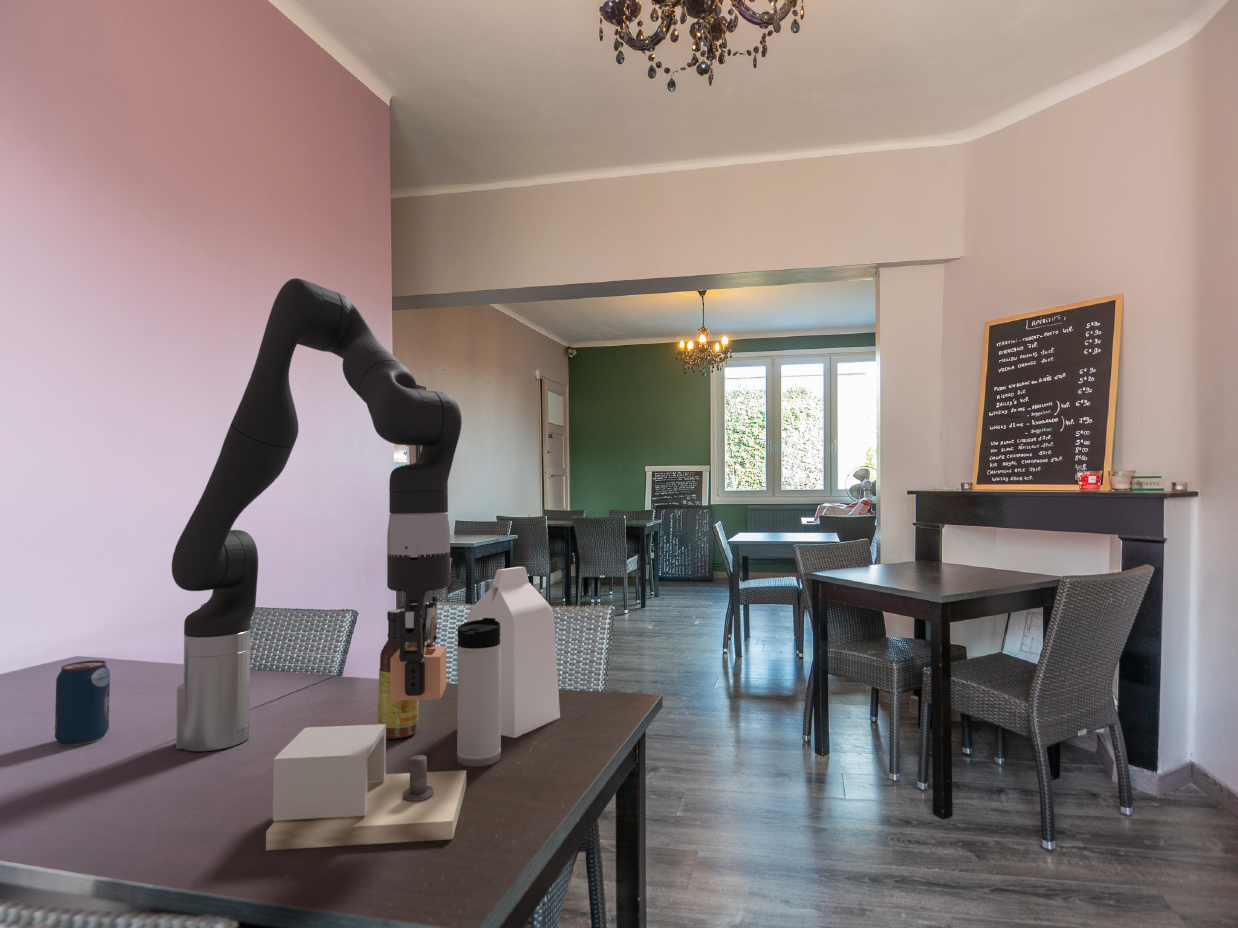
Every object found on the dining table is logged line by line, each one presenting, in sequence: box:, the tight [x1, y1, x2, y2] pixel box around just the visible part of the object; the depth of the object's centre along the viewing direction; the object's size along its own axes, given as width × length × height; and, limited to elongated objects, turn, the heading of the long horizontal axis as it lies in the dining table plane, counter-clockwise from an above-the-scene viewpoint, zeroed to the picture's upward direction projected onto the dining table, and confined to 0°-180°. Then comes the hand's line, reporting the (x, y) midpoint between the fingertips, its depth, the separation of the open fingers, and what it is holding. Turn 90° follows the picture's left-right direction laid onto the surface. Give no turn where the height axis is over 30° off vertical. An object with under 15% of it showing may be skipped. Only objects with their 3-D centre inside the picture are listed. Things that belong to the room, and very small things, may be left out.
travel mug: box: [456, 618, 502, 768], centre depth 105 cm, size 6×7×20 cm
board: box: [265, 754, 467, 851], centre depth 87 cm, size 20×15×6 cm
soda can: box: [54, 659, 111, 747], centre depth 115 cm, size 7×7×12 cm
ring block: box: [390, 646, 448, 701], centre depth 88 cm, size 6×6×5 cm
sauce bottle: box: [377, 608, 419, 740], centre depth 117 cm, size 6×6×20 cm
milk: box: [466, 566, 561, 739], centre depth 123 cm, size 12×12×26 cm
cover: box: [272, 723, 387, 822], centre depth 87 cm, size 10×11×7 cm
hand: (419, 687), depth 88 cm, fingers closed on ring block, 5 cm apart
